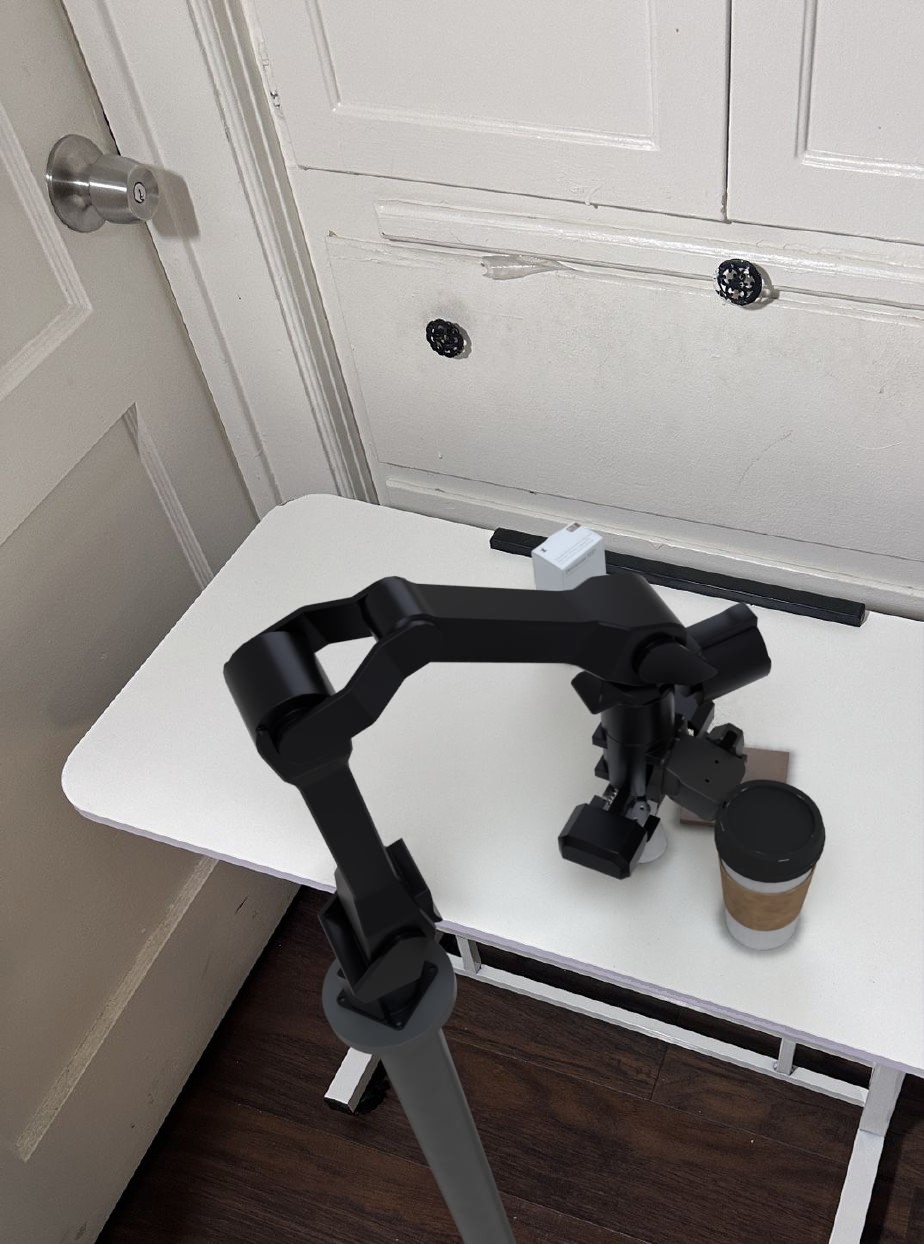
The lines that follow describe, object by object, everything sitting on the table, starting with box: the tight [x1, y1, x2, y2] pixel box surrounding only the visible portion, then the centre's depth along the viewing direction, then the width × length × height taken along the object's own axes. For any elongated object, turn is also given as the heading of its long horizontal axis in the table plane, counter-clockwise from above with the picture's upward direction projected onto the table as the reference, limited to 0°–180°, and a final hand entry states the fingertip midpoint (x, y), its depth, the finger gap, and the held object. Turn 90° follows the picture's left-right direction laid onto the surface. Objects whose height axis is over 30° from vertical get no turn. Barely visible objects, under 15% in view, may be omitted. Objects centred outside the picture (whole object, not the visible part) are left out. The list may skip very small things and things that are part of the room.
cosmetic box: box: [530, 520, 607, 591], centre depth 120 cm, size 6×4×12 cm
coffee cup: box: [713, 779, 827, 951], centre depth 97 cm, size 8×8×15 cm
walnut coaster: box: [679, 746, 790, 828], centre depth 112 cm, size 9×9×1 cm
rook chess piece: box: [635, 797, 668, 864], centre depth 105 cm, size 4×4×8 cm
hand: (641, 832), depth 107 cm, fingers closed on rook chess piece, 3 cm apart
